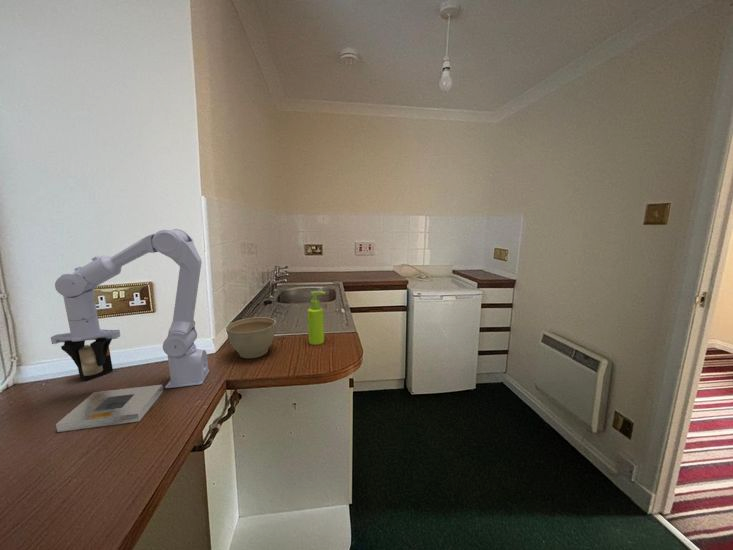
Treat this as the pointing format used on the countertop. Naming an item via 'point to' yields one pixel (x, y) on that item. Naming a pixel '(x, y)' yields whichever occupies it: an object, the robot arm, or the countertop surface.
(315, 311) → the soap dispenser
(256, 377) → the countertop surface
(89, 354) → the barrel peg
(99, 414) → the light grey flat block
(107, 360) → the battery
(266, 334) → the planter bowl
